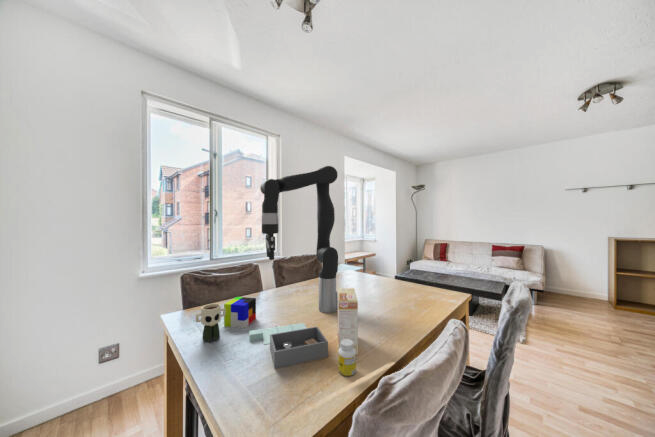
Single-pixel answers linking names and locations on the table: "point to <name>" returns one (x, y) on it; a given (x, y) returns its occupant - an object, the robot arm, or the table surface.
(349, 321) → the coffeecake box
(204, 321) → the character mug
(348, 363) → the supplement bottle
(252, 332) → the lid
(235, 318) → the puzzle toy
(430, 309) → the table surface
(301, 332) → the tub
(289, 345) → the steel bushing
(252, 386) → the table surface
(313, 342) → the walnut block
